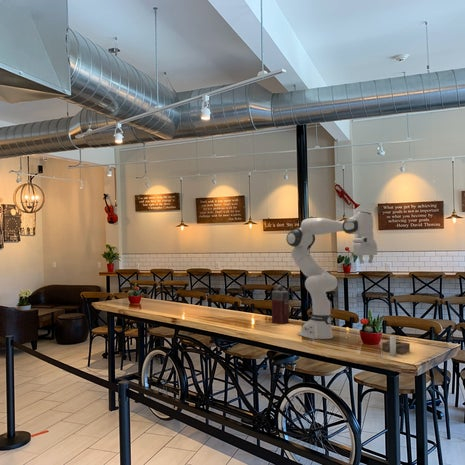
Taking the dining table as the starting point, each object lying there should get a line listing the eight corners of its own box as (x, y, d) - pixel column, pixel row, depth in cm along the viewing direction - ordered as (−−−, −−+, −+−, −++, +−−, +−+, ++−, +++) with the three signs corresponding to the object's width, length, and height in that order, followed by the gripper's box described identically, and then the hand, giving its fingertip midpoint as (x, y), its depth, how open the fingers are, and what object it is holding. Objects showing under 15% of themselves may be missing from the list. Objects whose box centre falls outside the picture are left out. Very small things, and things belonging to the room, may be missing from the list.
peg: (388, 355, 236) (388, 336, 236) (391, 354, 238) (391, 335, 238) (394, 356, 234) (394, 337, 234) (396, 355, 236) (396, 336, 236)
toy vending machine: (284, 324, 322) (284, 285, 322) (271, 322, 329) (271, 284, 330) (291, 323, 328) (291, 284, 329) (278, 321, 336) (278, 283, 336)
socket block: (382, 350, 246) (382, 342, 246) (390, 348, 253) (390, 340, 253) (401, 354, 238) (401, 346, 238) (409, 351, 245) (409, 343, 245)
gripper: (370, 239, 269) (370, 262, 269) (351, 239, 255) (351, 263, 255) (379, 239, 265) (380, 262, 264) (361, 239, 251) (361, 263, 250)
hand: (366, 263), depth 260 cm, fingers open, 8 cm apart
